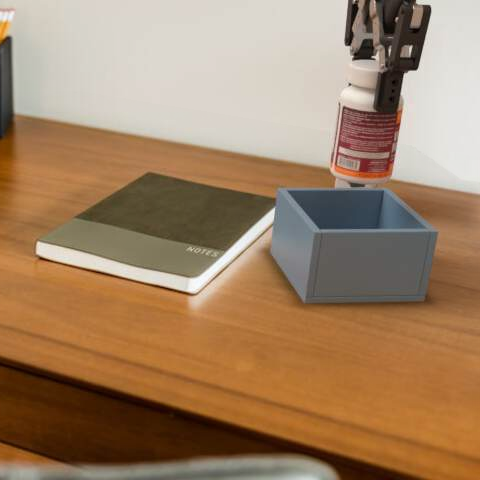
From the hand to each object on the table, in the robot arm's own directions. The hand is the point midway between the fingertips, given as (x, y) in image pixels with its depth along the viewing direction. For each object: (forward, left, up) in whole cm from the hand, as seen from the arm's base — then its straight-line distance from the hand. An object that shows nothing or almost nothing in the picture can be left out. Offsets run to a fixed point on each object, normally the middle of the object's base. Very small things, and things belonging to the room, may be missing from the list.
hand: (371, 102), depth 88 cm
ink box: (-9, -21, -19) cm, 30 cm away
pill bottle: (0, 0, -8) cm, 8 cm away
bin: (0, 0, -19) cm, 19 cm away
